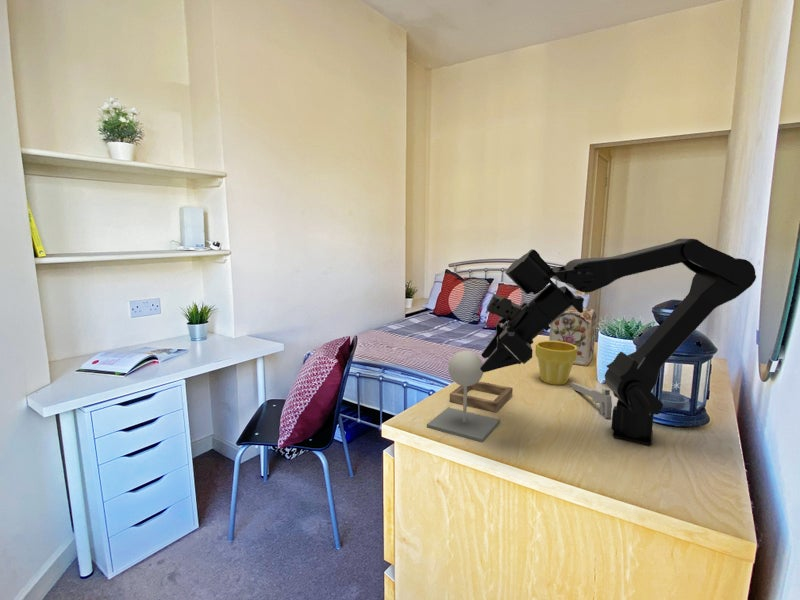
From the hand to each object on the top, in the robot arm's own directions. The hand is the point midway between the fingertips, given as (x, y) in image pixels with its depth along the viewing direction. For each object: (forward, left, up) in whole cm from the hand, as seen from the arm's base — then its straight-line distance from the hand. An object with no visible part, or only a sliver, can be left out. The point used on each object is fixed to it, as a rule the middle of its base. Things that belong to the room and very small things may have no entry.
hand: (482, 363), depth 84 cm
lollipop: (+3, +1, -13) cm, 13 cm away
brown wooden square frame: (+5, -14, -13) cm, 20 cm away
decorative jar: (-7, -59, -14) cm, 61 cm away
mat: (+3, +1, -13) cm, 14 cm away
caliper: (-17, -26, -14) cm, 34 cm away
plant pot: (-7, -36, -14) cm, 39 cm away
